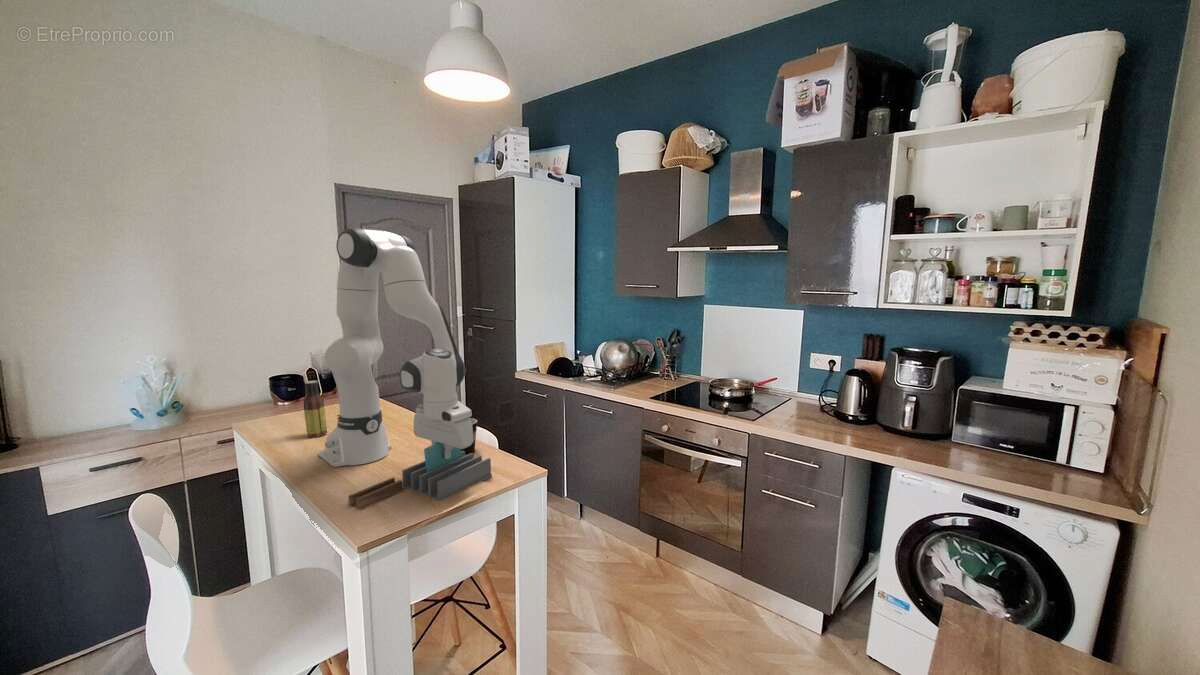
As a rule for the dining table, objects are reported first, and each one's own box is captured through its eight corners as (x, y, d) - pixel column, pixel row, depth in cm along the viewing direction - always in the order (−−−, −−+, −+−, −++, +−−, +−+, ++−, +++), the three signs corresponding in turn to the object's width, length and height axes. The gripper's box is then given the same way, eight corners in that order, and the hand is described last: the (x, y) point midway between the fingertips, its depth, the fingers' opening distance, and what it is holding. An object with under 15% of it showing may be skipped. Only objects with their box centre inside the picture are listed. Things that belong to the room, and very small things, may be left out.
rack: (402, 489, 121) (401, 469, 121) (455, 465, 137) (454, 448, 136) (440, 503, 114) (439, 482, 113) (491, 476, 129) (491, 458, 128)
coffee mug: (468, 444, 154) (467, 416, 153) (483, 450, 148) (482, 421, 147) (436, 455, 145) (435, 424, 144) (452, 461, 140) (450, 430, 138)
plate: (427, 483, 122) (423, 448, 120) (459, 466, 131) (456, 434, 129) (431, 484, 121) (427, 449, 119) (462, 467, 131) (459, 435, 129)
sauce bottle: (322, 431, 167) (318, 378, 165) (330, 434, 164) (326, 380, 161) (303, 436, 162) (298, 381, 159) (310, 439, 158) (306, 384, 156)
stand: (347, 506, 112) (346, 494, 111) (391, 487, 122) (390, 476, 122) (361, 513, 109) (360, 500, 108) (405, 493, 119) (404, 481, 119)
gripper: (406, 405, 126) (408, 453, 128) (457, 417, 116) (459, 469, 117) (425, 400, 131) (427, 446, 133) (476, 411, 121) (477, 460, 123)
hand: (443, 457), depth 125 cm, fingers closed on plate, 1 cm apart
